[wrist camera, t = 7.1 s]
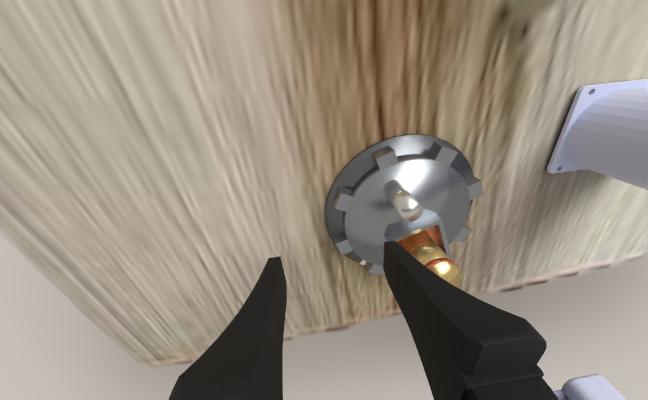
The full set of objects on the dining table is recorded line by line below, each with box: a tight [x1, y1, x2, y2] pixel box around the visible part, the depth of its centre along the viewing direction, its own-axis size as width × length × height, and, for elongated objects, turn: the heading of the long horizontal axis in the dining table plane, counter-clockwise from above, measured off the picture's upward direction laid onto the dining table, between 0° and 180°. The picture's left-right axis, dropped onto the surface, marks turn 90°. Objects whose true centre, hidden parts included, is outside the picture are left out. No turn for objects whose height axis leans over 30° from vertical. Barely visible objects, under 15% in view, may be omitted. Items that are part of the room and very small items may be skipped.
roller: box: [401, 232, 463, 287], centre depth 22 cm, size 3×3×5 cm
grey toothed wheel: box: [333, 142, 483, 275], centre depth 22 cm, size 14×14×6 cm
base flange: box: [326, 134, 473, 265], centre depth 24 cm, size 15×15×1 cm
